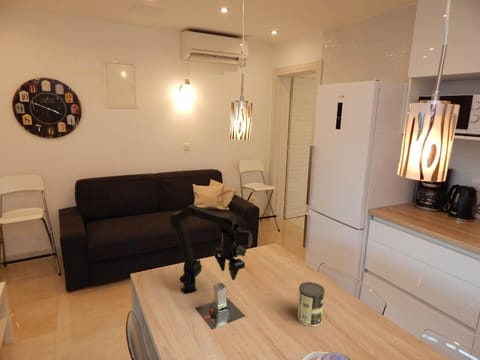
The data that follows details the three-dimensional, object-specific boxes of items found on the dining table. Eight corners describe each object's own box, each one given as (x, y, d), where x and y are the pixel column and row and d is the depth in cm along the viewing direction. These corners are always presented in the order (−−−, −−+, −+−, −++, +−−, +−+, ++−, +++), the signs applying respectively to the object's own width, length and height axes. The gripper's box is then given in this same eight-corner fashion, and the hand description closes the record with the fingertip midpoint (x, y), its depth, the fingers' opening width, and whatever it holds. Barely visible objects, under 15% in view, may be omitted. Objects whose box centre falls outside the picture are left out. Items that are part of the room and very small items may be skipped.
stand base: (194, 310, 135) (194, 302, 134) (226, 298, 144) (226, 292, 143) (211, 331, 122) (211, 324, 121) (245, 318, 131) (245, 310, 130)
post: (213, 304, 133) (213, 285, 131) (221, 301, 135) (221, 282, 133) (217, 309, 129) (218, 290, 127) (226, 306, 131) (226, 287, 129)
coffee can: (321, 312, 135) (323, 283, 132) (322, 328, 125) (325, 297, 122) (297, 309, 137) (299, 280, 134) (296, 324, 127) (298, 293, 124)
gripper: (255, 246, 133) (254, 279, 137) (233, 232, 149) (232, 262, 152) (233, 252, 128) (233, 287, 131) (212, 237, 143) (212, 268, 146)
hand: (228, 275), depth 140 cm, fingers open, 9 cm apart
